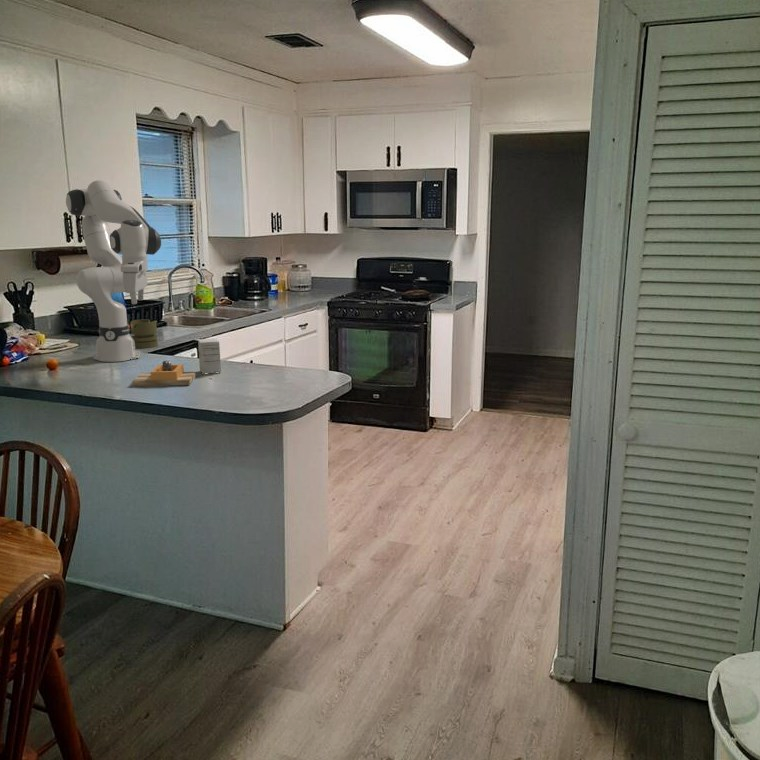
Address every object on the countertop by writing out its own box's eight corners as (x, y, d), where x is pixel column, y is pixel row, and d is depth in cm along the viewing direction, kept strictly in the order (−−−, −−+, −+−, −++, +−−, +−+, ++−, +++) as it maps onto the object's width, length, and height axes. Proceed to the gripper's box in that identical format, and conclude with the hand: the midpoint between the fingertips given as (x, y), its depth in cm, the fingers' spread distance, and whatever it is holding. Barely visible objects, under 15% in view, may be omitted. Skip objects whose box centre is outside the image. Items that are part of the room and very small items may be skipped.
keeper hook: (164, 375, 262) (163, 360, 261) (172, 375, 262) (171, 359, 261) (161, 378, 258) (160, 362, 256) (170, 378, 258) (169, 362, 256)
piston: (138, 323, 321) (125, 321, 328) (141, 349, 324) (127, 346, 331) (160, 320, 329) (147, 318, 336) (162, 346, 332) (149, 343, 339)
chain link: (159, 372, 267) (158, 364, 266) (183, 372, 268) (183, 364, 267) (151, 380, 254) (150, 372, 253) (176, 379, 255) (176, 371, 254)
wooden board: (142, 378, 267) (141, 372, 267) (196, 376, 269) (196, 371, 268) (132, 386, 253) (132, 381, 253) (189, 385, 255) (189, 380, 254)
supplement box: (199, 371, 279) (197, 339, 276) (218, 369, 281) (216, 338, 278) (201, 374, 272) (199, 342, 269) (221, 373, 274) (219, 341, 272)
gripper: (133, 262, 275) (136, 298, 278) (119, 267, 255) (121, 306, 258) (150, 262, 275) (152, 298, 279) (137, 267, 255) (139, 306, 259)
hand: (137, 302), depth 268 cm, fingers open, 8 cm apart
